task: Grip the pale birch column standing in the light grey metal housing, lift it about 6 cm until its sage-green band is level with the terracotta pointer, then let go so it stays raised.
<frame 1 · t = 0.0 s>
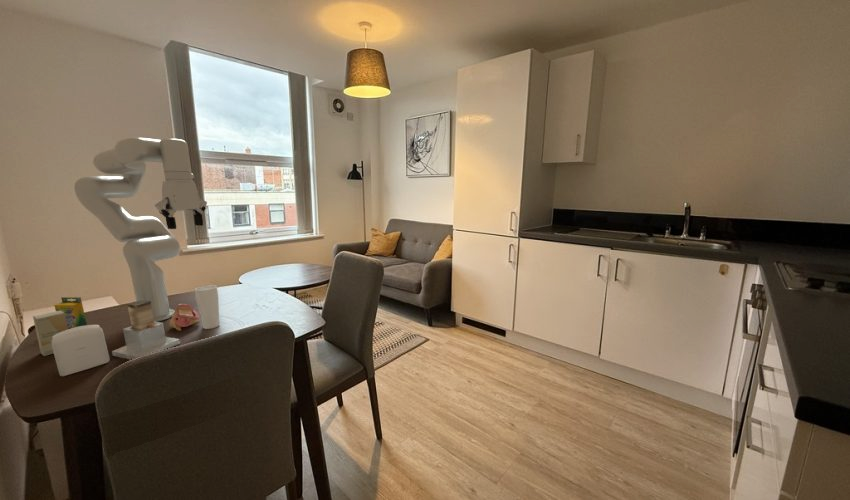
hand: (186, 227, 116), 37 cm above the table, tool pointing down, fingers open, 9 cm apart
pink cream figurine: (188, 326, 123), on the table
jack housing: (147, 349, 105), on the table
drinking glass: (211, 327, 122), on the table
photo printer: (85, 368, 95), on the table
column: (143, 323, 104), point 9 cm above the table, slide at 0.0 cm
crayon box: (74, 329, 121), on the table
skincare box: (57, 351, 105), on the table
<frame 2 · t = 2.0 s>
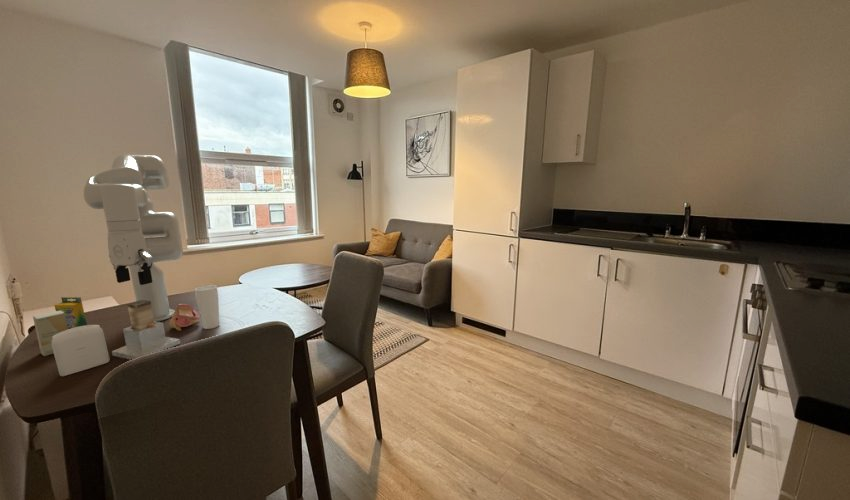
hand: (135, 282, 101), 22 cm above the table, tool pointing down, fingers open, 9 cm apart
nothing on the table moved.
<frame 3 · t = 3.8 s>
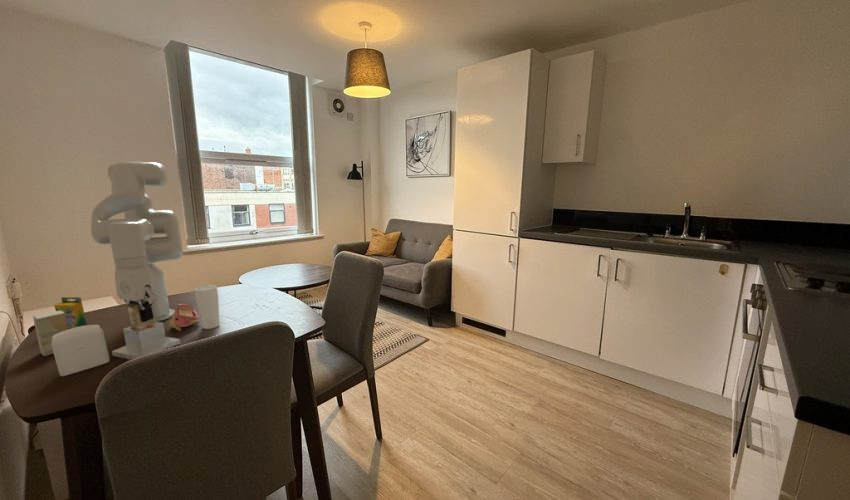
hand: (142, 318, 103), 10 cm above the table, tool pointing down, fingers closed on column, 4 cm apart
column: (143, 323, 104), point 9 cm above the table, slide at 0.0 cm, touching gripper
everything else where it was.
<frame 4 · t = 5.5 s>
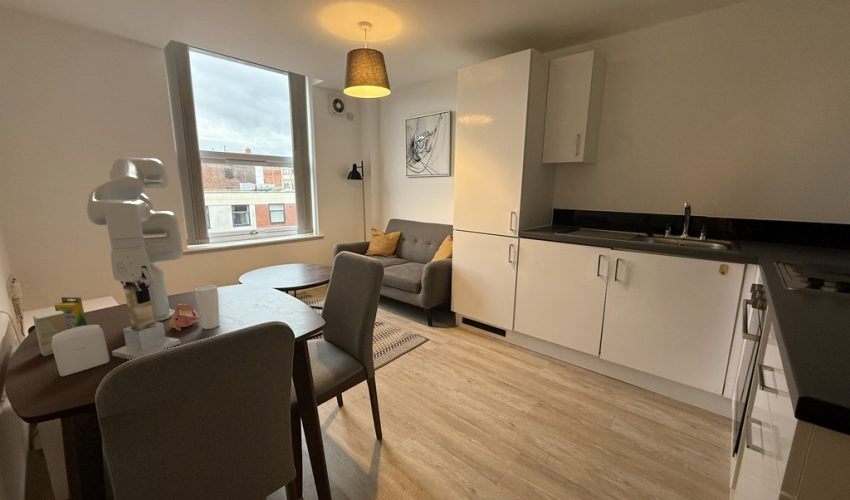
hand: (138, 301, 102), 16 cm above the table, tool pointing down, fingers closed on column, 4 cm apart
column: (139, 306, 102), point 15 cm above the table, slide at 5.9 cm, touching gripper
everything else where it was.
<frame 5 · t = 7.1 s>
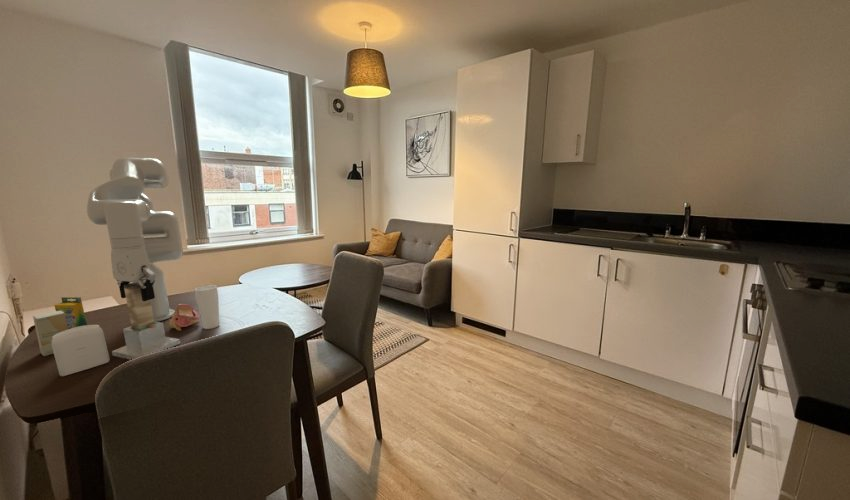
hand: (138, 298, 102), 17 cm above the table, tool pointing down, fingers open, 8 cm apart
column: (139, 305, 102), point 15 cm above the table, slide at 6.0 cm
everything else where it was.
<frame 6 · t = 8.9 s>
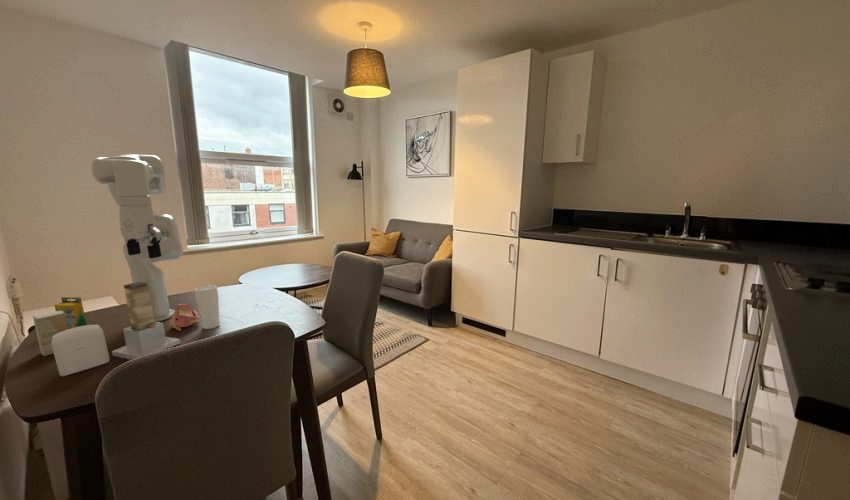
hand: (145, 255, 105), 29 cm above the table, tool pointing down, fingers open, 9 cm apart
nothing on the table moved.
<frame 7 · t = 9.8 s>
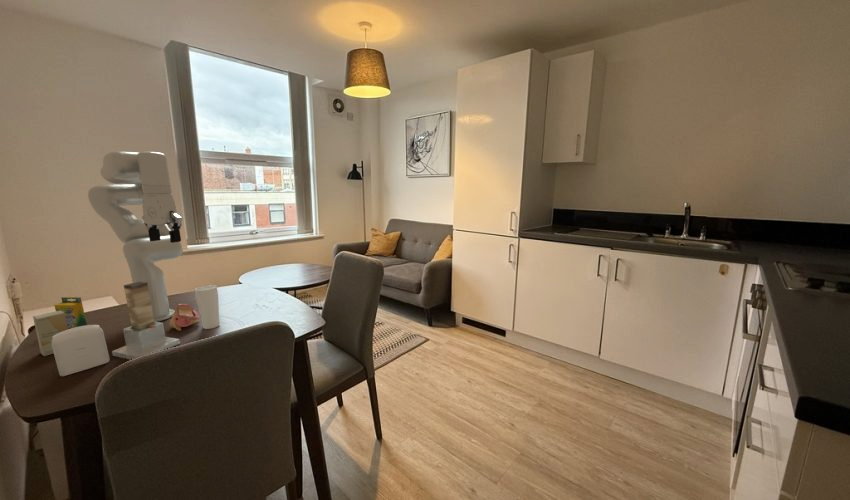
hand: (165, 241, 114), 32 cm above the table, tool pointing down, fingers open, 9 cm apart
nothing on the table moved.
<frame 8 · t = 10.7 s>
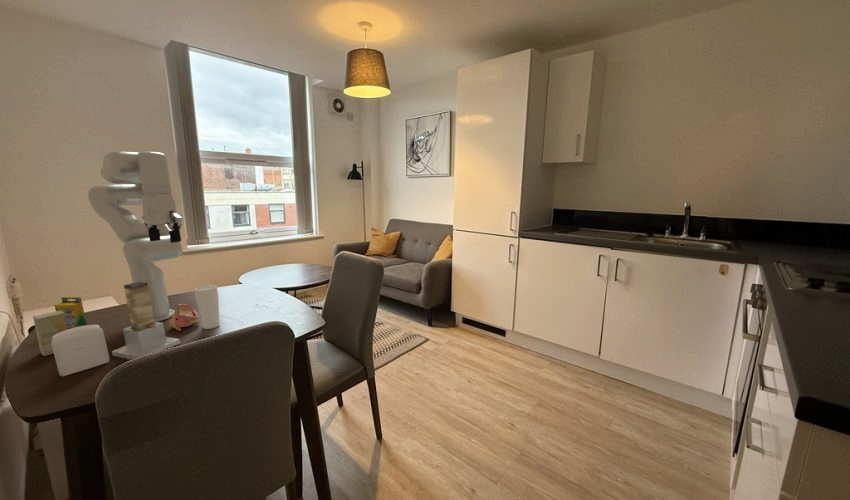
hand: (165, 241, 114), 32 cm above the table, tool pointing down, fingers open, 9 cm apart
nothing on the table moved.
at the end: column slide at 6.0 cm; the gripper is holding nothing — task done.
